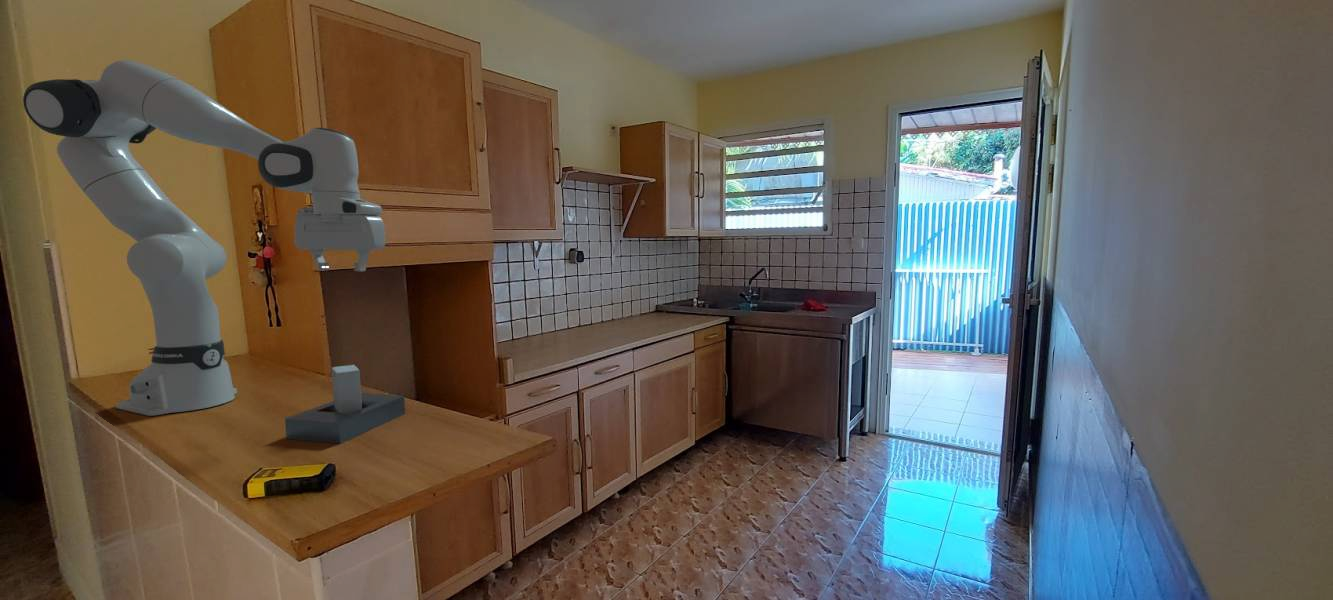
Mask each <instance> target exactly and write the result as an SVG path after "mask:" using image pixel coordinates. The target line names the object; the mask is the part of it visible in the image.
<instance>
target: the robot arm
mask: <svg viewBox="0 0 1333 600" xmlns="http://www.w3.org/2000/svg"><path fill="white" fill-rule="evenodd" d="M101 73H102V74H101V76H100V79H99V80H96V79H95V80H93V79H86V80H82V79H73V78H72V79H65V78H64V79H62V78H61V79H60V78H59V79H48V80H47V79H46V80H41V81H38V82H35V83H33V84H31V85H29V86H28V87H26V89H25V91H24V93H23V97H22V100H23V101H22V102H23V106H24V110H25V113H26V115H27V116H28V117H29V119H30V120H31V121H32V122H33V124H34V125H36V127H38V128H39V129H40V130H42V131H45V132H47V133H48V134H52V135H56V136H60V137H62V139H61V140H60V141H59V142H58V143H57V145H56V146H57V147H56V151H57V152H56V153H57V155H58V157H59V159H60V161H61V163H62V164H63V166H64V167H65V169H66V171H67V172H68V174H69V175H70V177H71V178H72V180H73V181H74V182H75V183H76V185H77V186H78V187H79V188H80V189H81V191H82V192H83V193H84V194H85V195H86V196H87V198H88V199H89V200H90V201H91V202H92V203H93V205H94V206H95V207H96V208H97V209H98V210H99V211H100V212H101V214H102V215H103V216H104V217H105V219H107V221H108V222H109V223H110V224H112V225H113V226H114V227H115V228H117V230H120V231H121V232H123V233H125V234H126V235H128V236H129V237H131V238H132V239H133V240H135V241H136V242H135V243H134V244H132V246H131V247H130V248H129V249H128V252H127V255H126V262H127V266H128V269H129V270H130V271H131V272H132V274H133V275H134V276H135V277H137V278H138V280H139V281H140V283H141V285H142V288H143V290H144V293H145V295H146V297H147V300H148V302H149V305H150V308H151V311H152V317H153V322H154V323H153V325H154V331H155V343H156V345H155V347H154V348H153V347H152V348H148V349H147V350H148V351H150V352H148V353H147V354H148V355H152V356H151V363H150V364H149V365H148V366H147V367H145V369H143V370H142V371H141V372H140V373H138V374H137V375H136V376H134V377H133V378H132V379H131V381H130V383H129V398H128V399H124V400H121V401H119V402H117V403H116V404H115V408H116V409H119V410H123V411H127V412H132V413H136V414H140V415H145V416H149V417H152V416H153V417H154V416H160V415H165V414H171V413H181V412H189V411H197V410H201V409H207V408H211V407H216V406H219V405H222V404H225V403H228V402H230V401H232V400H234V399H235V398H236V396H235V395H236V394H237V393H238V390H237V389H238V388H236V387H234V386H233V382H232V376H231V371H230V367H229V363H228V362H227V360H225V359H224V357H223V356H225V355H226V354H225V352H226V351H225V349H226V348H225V344H224V340H223V339H222V338H221V325H220V315H219V308H218V305H217V304H216V303H215V302H214V300H213V298H212V296H211V294H210V292H209V291H210V290H209V289H208V288H209V287H208V285H207V282H206V280H208V279H211V278H212V277H214V276H216V275H218V274H219V273H220V272H221V271H223V269H224V267H226V264H227V258H228V256H227V252H226V250H225V248H224V247H223V245H221V244H220V243H219V242H218V241H216V240H215V239H213V238H212V237H211V236H210V235H208V234H207V233H206V232H205V231H204V230H203V229H202V228H201V227H200V226H199V225H198V224H197V223H195V222H194V221H193V220H192V219H191V218H190V217H189V216H188V215H187V214H186V213H184V211H182V210H181V209H180V208H178V206H176V204H174V202H172V201H171V199H170V198H169V197H168V196H167V195H166V193H165V192H164V191H163V190H162V189H161V188H160V187H159V185H158V184H157V183H156V182H155V181H154V179H153V178H152V177H151V176H150V175H149V174H148V172H147V171H146V170H145V169H144V168H143V166H142V165H141V164H140V163H139V162H138V161H137V160H136V159H135V157H134V156H133V154H132V153H131V151H130V147H129V146H130V144H141V143H142V142H144V141H145V139H146V138H147V135H149V134H151V133H152V132H154V131H155V130H156V129H157V130H160V131H162V132H164V133H166V134H168V135H171V136H173V137H176V138H179V139H182V140H186V141H189V142H193V143H197V144H203V145H206V146H212V147H217V148H222V149H227V150H230V151H235V152H238V153H241V154H244V155H247V156H249V157H251V158H253V159H255V160H257V168H258V171H259V174H260V176H261V178H262V179H263V180H264V182H266V183H267V184H269V185H270V186H272V187H276V188H278V189H280V190H285V191H291V192H296V193H297V192H298V193H302V194H307V195H311V197H312V207H307V206H304V207H301V208H300V209H299V210H298V211H297V213H296V219H295V224H294V225H295V226H294V245H295V247H296V248H297V249H298V250H310V256H311V257H312V259H313V260H314V262H315V263H316V270H317V272H319V271H320V272H323V271H324V272H326V271H329V270H330V266H329V265H330V264H329V262H326V261H325V258H324V256H323V255H325V250H331V251H334V250H335V251H336V250H340V251H342V250H347V251H348V250H349V251H350V250H351V251H356V254H357V256H359V257H358V259H357V262H353V267H354V268H353V270H354V272H366V270H367V262H368V260H369V258H370V256H371V251H380V250H381V251H382V250H383V249H384V248H385V246H386V230H385V223H384V220H383V219H382V218H381V217H380V216H381V215H382V214H383V209H382V206H381V205H379V204H375V203H373V202H371V201H367V200H365V199H362V198H361V191H360V188H359V185H358V178H359V175H360V171H359V170H360V169H359V161H358V155H357V154H358V152H357V149H356V144H355V141H354V140H353V138H352V137H351V136H350V135H348V134H346V133H344V132H341V131H338V130H335V129H331V128H327V127H325V128H324V127H313V128H311V129H310V130H309V131H307V132H306V133H305V134H303V135H301V136H299V137H297V138H295V139H291V140H288V141H287V140H286V141H284V140H282V139H279V138H277V137H276V136H273V135H272V134H270V133H267V132H266V131H264V130H262V129H259V128H257V127H255V126H254V125H253V124H251V123H249V122H247V121H246V119H245V120H244V119H243V118H242V117H240V116H238V115H237V114H235V113H234V112H233V111H231V110H229V109H228V108H226V107H224V106H223V105H222V104H220V103H219V102H217V101H216V100H214V99H213V98H211V97H210V96H208V95H207V94H205V93H204V92H202V91H201V90H199V89H198V88H196V87H194V86H192V85H191V84H189V83H187V82H185V81H183V80H181V79H179V78H177V77H176V76H173V75H171V74H169V73H167V72H164V71H162V70H159V69H157V68H156V67H152V66H150V65H146V64H143V63H141V62H137V61H135V60H134V61H133V60H118V61H117V60H116V61H115V62H112V63H110V64H109V65H107V66H106V67H105V68H104V70H103V71H102V72H101ZM152 350H153V351H152Z"/></svg>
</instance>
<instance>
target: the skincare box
mask: <svg viewBox="0 0 1333 600" xmlns="http://www.w3.org/2000/svg"><path fill="white" fill-rule="evenodd" d="M360 374H361V373H360V370H359V368H358V367H357V366H356V365H355V364H348V365H342V366H341V365H340V366H339V365H338V366H334V367H333V366H332V367H331V375H332V376H331V378H332V389H333V391H332V392H333V401H334V405H335V413H346V414H351V413H354V412H356V411H359V410H361V409H362V401H361V393H362V388H361V387H362V386H361V375H360Z"/></svg>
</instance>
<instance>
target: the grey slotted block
mask: <svg viewBox="0 0 1333 600" xmlns="http://www.w3.org/2000/svg"><path fill="white" fill-rule="evenodd" d="M361 401H362V409H361V410H359V411H356V412H354V413H351V414H346V413H335V405H334V400H332V401H329V402H327V403H324V404H321V405H318V406H316V407H315V406H314V407H313V408H310V409H307V410H304V411H302V412H299V413H296V414H294V415H291V416H289V417H284V424H285V436H286V437H285V438H286V439H288V440H296V441H305V442H306V441H310V442H317V443H329V444H338V445H339V444H343V443H345V442H347V441H349V440H351V439H354V438H356V437H358V436H361V435H362V434H364V433H367V432H369V431H371V430H373V429H375V428H378V427H379V426H381V425H384V424H385V423H388V422H391V421H392V420H395V419H396V418H397V419H398V418H399V417H401V416H403V415H405V414H406V407H405V406H406V405H405V395H398V394H386V393H385V394H384V393H371V392H369V393H367V392H361Z"/></svg>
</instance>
